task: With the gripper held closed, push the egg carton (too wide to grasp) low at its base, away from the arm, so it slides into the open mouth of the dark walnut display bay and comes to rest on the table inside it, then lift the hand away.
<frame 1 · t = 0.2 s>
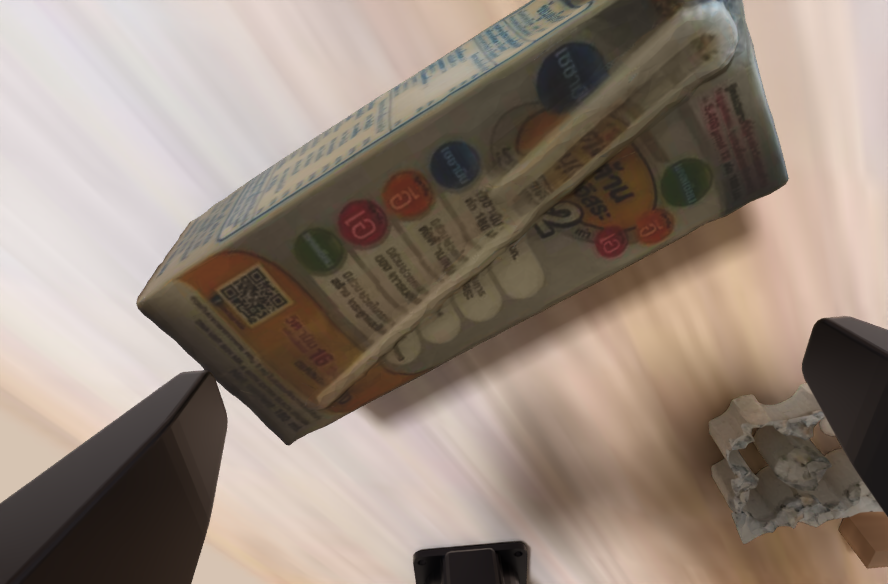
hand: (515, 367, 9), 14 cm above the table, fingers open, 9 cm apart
egg carton: (803, 423, 30), on the table
grey-green printed box: (444, 173, 22), on the table
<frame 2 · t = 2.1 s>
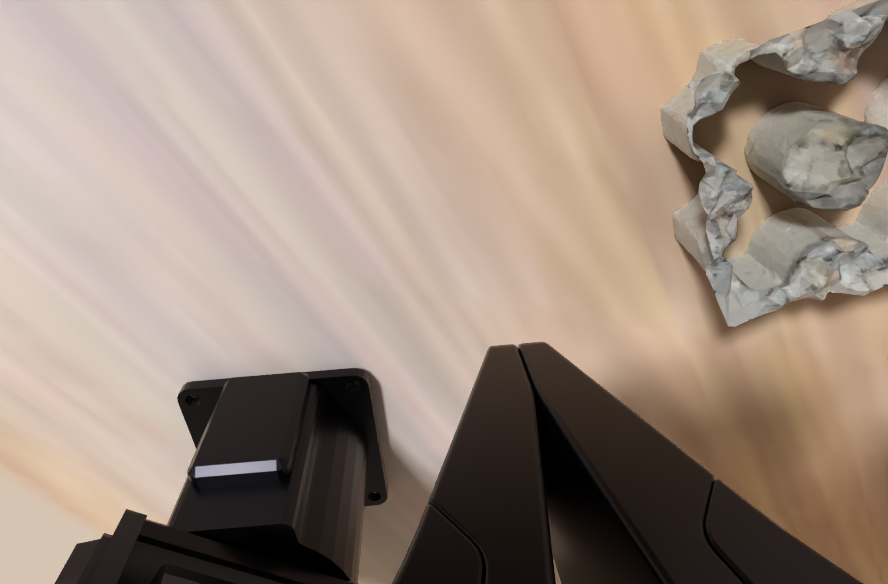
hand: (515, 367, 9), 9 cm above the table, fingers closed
egg carton: (835, 125, 17), on the table
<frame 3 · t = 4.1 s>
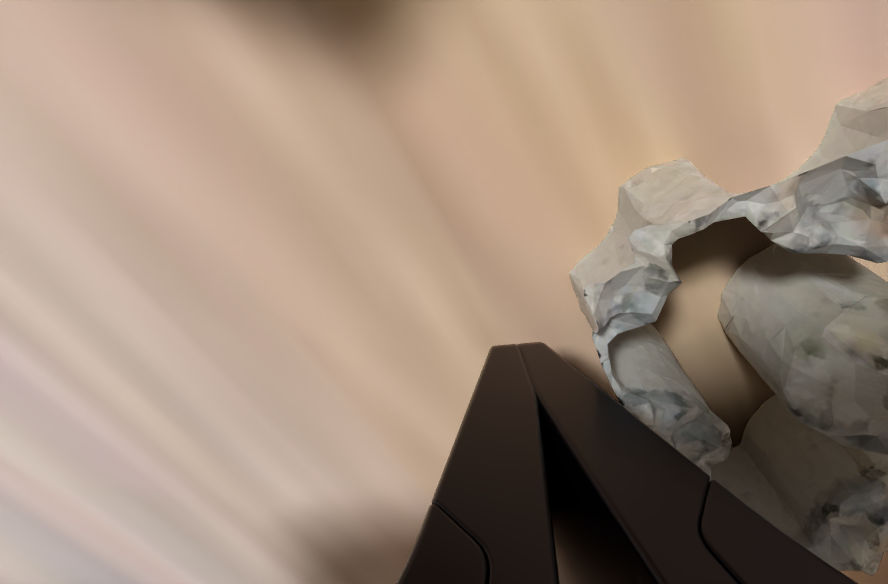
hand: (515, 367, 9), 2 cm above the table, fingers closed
egg carton: (868, 260, 10), on the table, touching gripper
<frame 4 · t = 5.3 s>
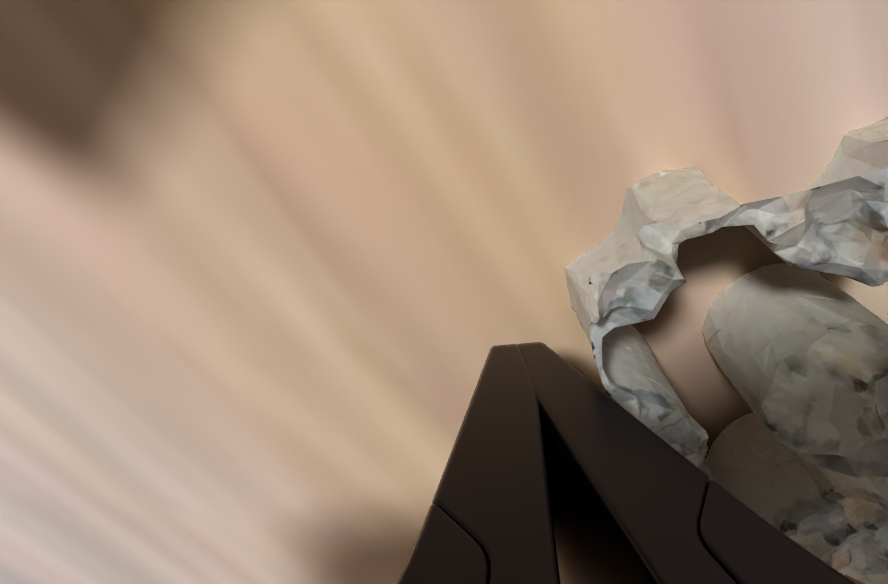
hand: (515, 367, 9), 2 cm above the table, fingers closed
egg carton: (847, 292, 11), on the table, touching gripper
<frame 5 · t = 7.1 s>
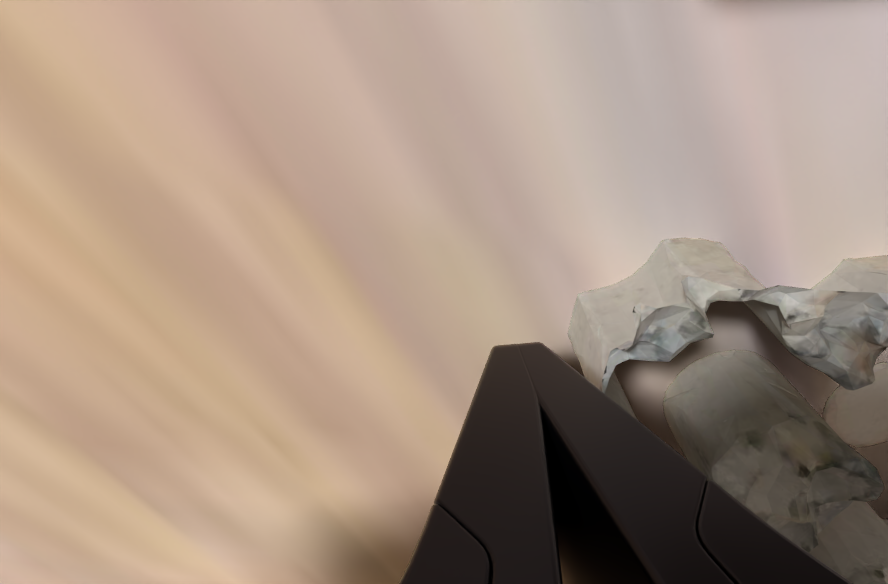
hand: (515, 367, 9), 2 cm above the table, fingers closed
egg carton: (784, 392, 12), on the table, touching gripper
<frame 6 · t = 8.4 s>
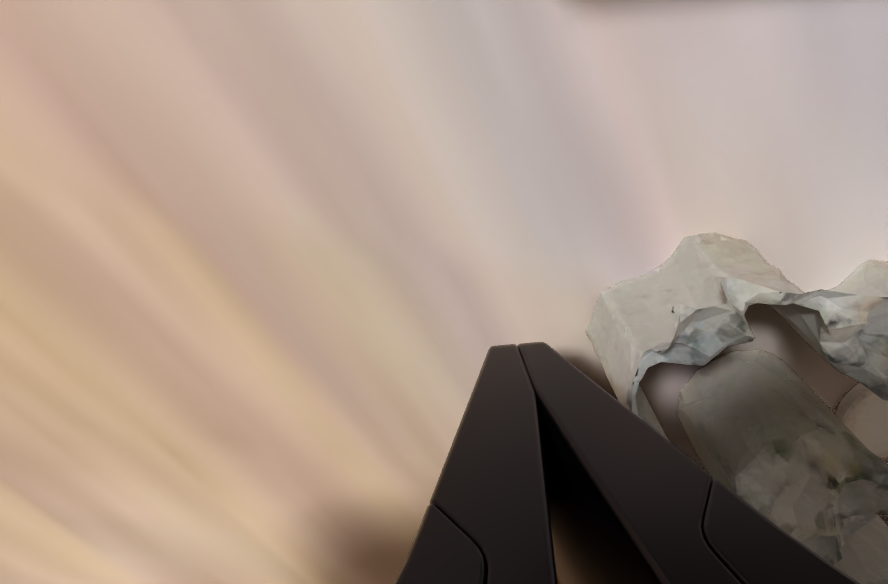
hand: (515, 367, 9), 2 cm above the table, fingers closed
egg carton: (801, 401, 12), on the table
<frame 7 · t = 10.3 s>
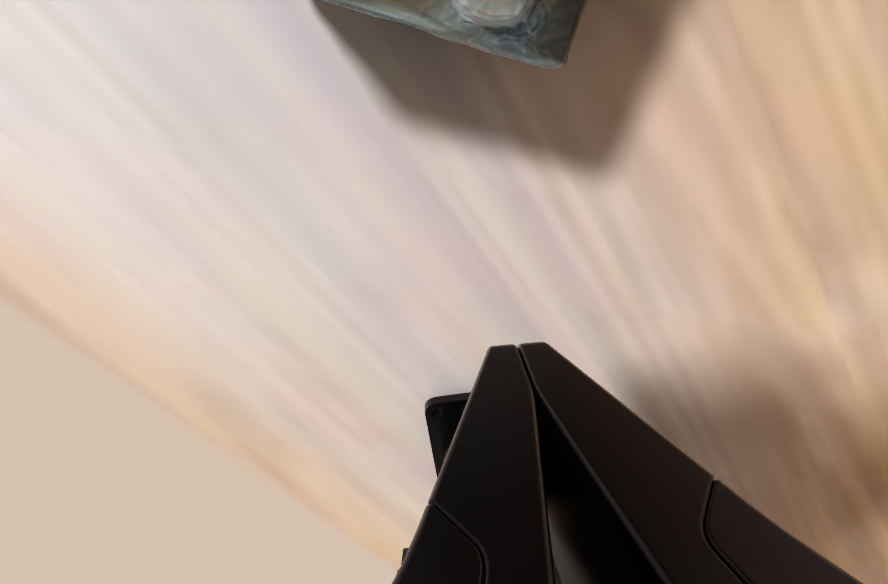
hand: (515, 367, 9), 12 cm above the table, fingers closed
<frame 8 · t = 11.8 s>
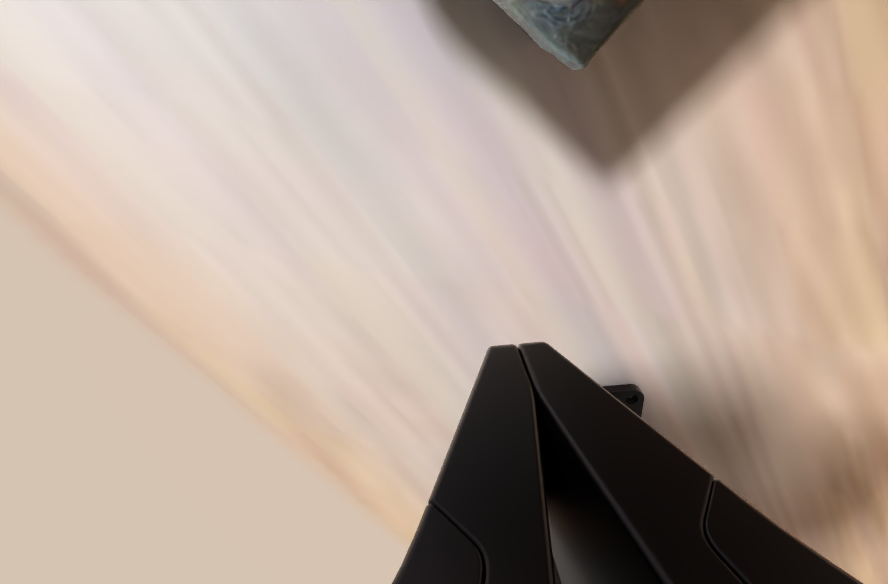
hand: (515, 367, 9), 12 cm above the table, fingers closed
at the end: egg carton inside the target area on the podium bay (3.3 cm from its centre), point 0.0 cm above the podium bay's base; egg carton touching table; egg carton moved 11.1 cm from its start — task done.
